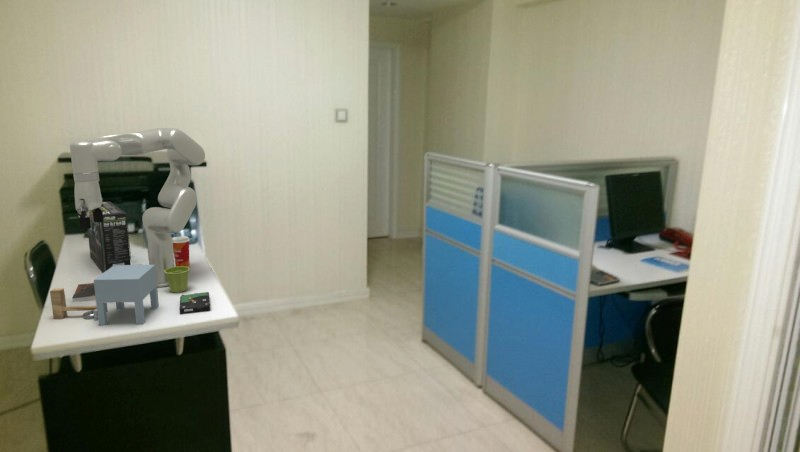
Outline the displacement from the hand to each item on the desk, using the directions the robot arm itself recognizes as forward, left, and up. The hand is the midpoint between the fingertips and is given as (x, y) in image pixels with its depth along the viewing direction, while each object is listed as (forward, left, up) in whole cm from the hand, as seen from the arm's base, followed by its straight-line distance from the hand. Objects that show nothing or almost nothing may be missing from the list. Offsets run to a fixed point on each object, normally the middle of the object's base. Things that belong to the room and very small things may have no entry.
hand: (92, 225), depth 185 cm
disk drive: (+3, +34, -31) cm, 46 cm away
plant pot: (-14, +23, -30) cm, 41 cm away
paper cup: (-44, +16, -30) cm, 56 cm away
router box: (-51, -18, -30) cm, 62 cm away
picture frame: (-14, -4, -31) cm, 34 cm away
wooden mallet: (+11, -3, -30) cm, 32 cm away
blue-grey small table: (+11, +14, -30) cm, 35 cm away
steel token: (+11, +1, -30) cm, 32 cm away
